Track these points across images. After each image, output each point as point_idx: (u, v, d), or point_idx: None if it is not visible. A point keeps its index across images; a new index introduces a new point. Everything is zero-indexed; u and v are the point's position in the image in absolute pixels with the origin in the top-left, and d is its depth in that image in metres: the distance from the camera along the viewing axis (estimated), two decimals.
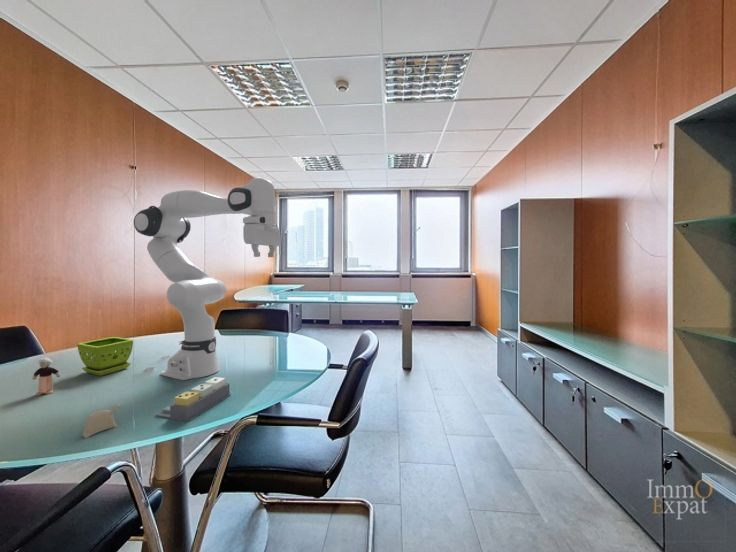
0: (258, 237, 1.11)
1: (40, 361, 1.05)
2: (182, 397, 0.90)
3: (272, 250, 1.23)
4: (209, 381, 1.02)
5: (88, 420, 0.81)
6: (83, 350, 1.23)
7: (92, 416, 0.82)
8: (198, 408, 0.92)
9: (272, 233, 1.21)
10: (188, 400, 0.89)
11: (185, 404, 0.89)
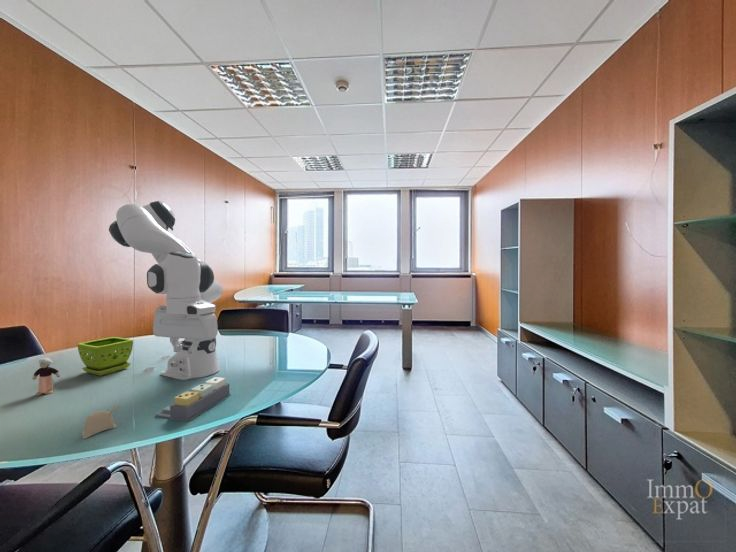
0: None
1: (40, 361, 1.05)
2: (182, 397, 0.90)
3: (177, 342, 0.92)
4: (209, 381, 1.02)
5: (87, 421, 0.81)
6: (83, 350, 1.23)
7: (91, 417, 0.82)
8: (198, 408, 0.92)
9: None
10: (188, 400, 0.89)
11: (185, 404, 0.89)
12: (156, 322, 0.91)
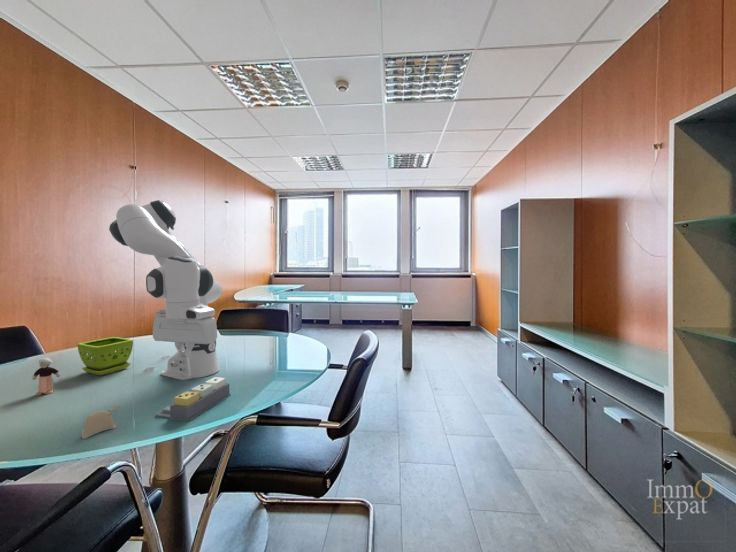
0: None
1: (40, 361, 1.05)
2: (182, 397, 0.90)
3: (182, 347, 0.91)
4: (209, 381, 1.02)
5: (87, 421, 0.81)
6: (83, 350, 1.23)
7: (91, 417, 0.81)
8: (198, 408, 0.92)
9: None
10: (188, 400, 0.89)
11: (185, 404, 0.89)
12: (156, 326, 0.91)
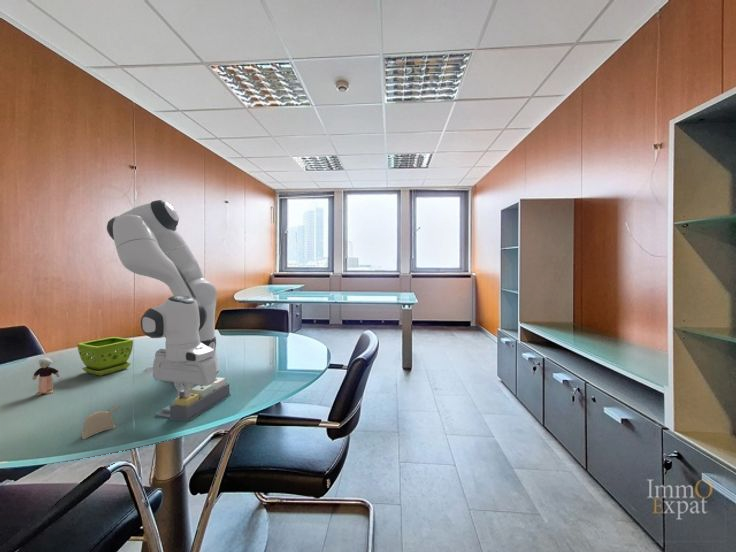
0: None
1: (40, 361, 1.05)
2: (182, 399, 0.90)
3: (181, 386, 0.92)
4: None
5: (86, 421, 0.81)
6: (83, 350, 1.23)
7: (90, 417, 0.81)
8: (198, 408, 0.92)
9: None
10: (188, 401, 0.89)
11: (185, 406, 0.89)
12: (156, 366, 0.91)
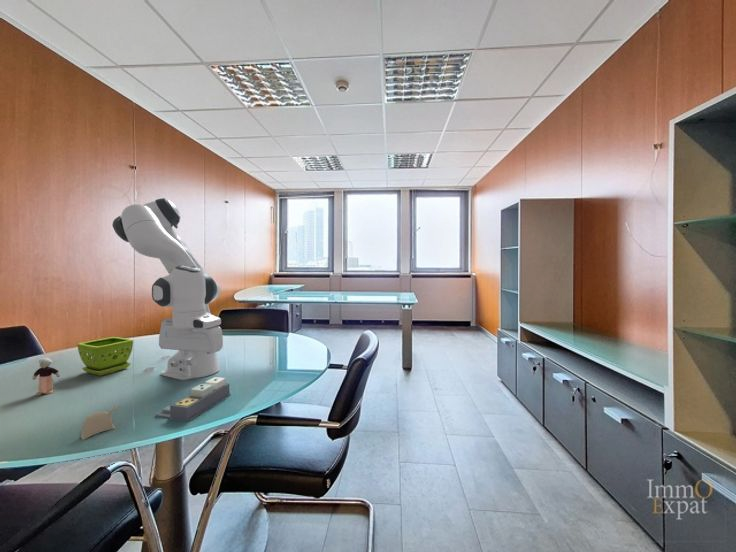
0: None
1: (40, 361, 1.05)
2: (182, 404, 0.90)
3: (188, 354, 0.93)
4: (209, 381, 1.02)
5: (86, 421, 0.80)
6: (83, 350, 1.23)
7: (90, 417, 0.81)
8: (198, 408, 0.92)
9: None
10: None
11: None
12: (162, 335, 0.92)
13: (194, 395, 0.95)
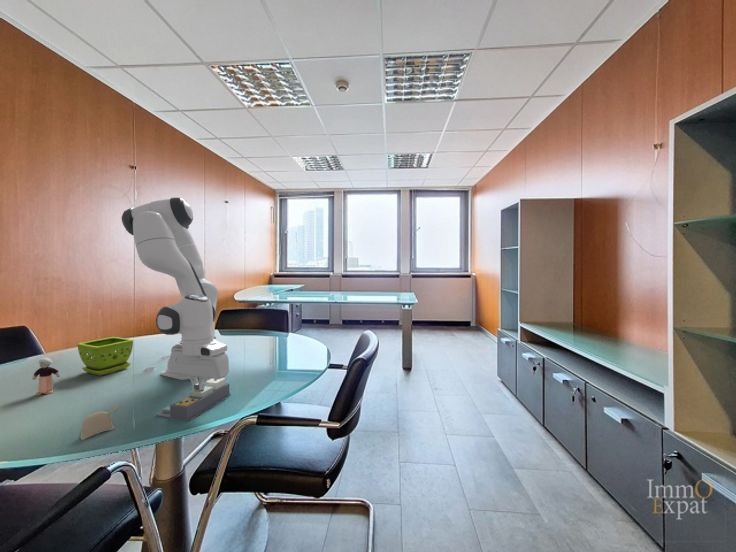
0: None
1: (40, 361, 1.05)
2: (182, 404, 0.90)
3: (196, 379, 0.97)
4: (209, 381, 1.02)
5: (85, 422, 0.80)
6: (83, 350, 1.23)
7: (89, 418, 0.81)
8: (198, 408, 0.92)
9: None
10: None
11: None
12: (172, 360, 0.97)
13: None
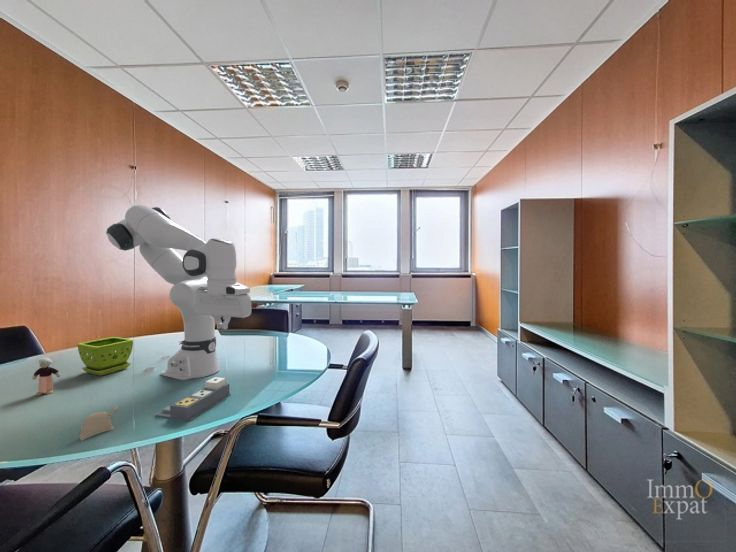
0: None
1: (40, 361, 1.05)
2: (182, 404, 0.90)
3: (219, 320, 1.02)
4: (209, 381, 1.02)
5: (84, 422, 0.80)
6: (83, 350, 1.23)
7: (89, 418, 0.81)
8: (198, 408, 0.92)
9: None
10: None
11: None
12: (197, 301, 1.02)
13: None
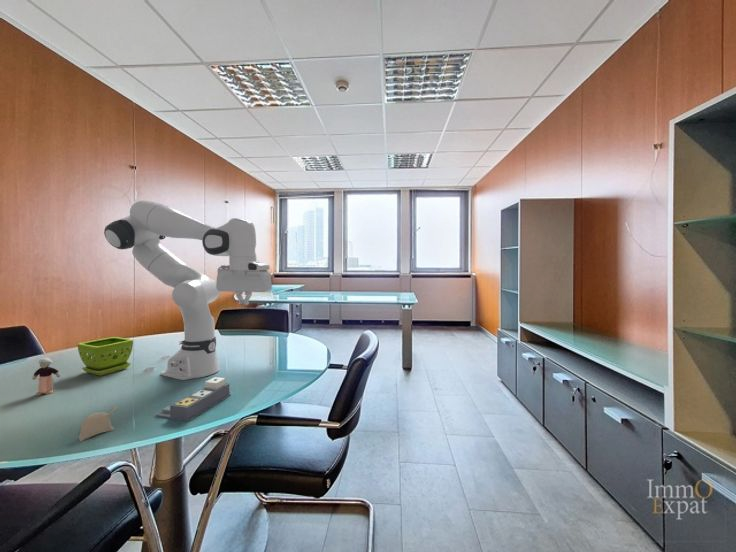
0: None
1: (40, 361, 1.05)
2: (182, 404, 0.90)
3: (241, 296, 1.08)
4: (209, 381, 1.02)
5: (84, 423, 0.80)
6: (83, 350, 1.23)
7: (88, 419, 0.80)
8: (198, 408, 0.92)
9: None
10: None
11: None
12: (219, 279, 1.07)
13: None
